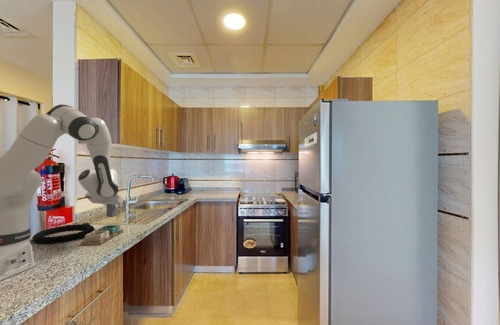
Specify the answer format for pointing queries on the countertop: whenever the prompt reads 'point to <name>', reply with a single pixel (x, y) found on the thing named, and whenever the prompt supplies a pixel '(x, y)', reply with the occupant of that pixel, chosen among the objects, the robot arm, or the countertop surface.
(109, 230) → the brown divided tray
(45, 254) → the countertop surface
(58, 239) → the cable lock
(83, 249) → the countertop surface
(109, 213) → the knob
